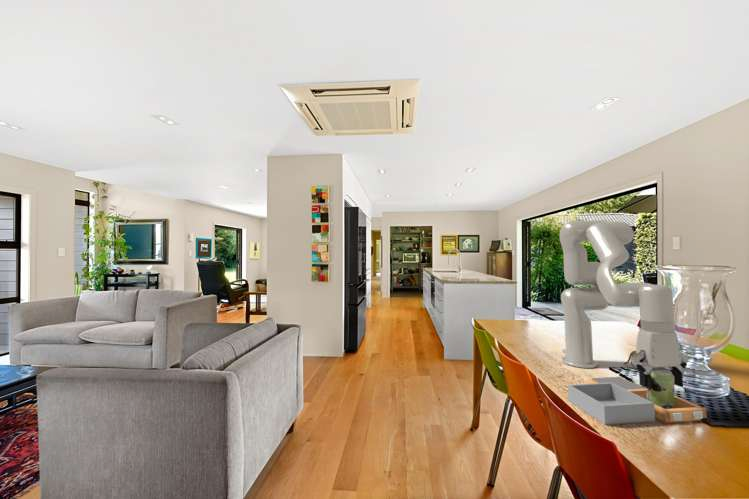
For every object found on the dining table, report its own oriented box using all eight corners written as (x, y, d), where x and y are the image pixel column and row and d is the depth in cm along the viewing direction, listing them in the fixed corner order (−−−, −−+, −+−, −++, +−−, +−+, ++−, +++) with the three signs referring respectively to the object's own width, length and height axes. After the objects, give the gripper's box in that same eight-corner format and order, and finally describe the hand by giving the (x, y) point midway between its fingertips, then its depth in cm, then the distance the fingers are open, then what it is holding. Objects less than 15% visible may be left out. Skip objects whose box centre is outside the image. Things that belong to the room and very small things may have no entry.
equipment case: (588, 382, 113) (588, 373, 113) (619, 380, 114) (619, 372, 114) (668, 423, 84) (667, 412, 85) (709, 421, 85) (708, 409, 85)
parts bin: (568, 401, 99) (567, 384, 99) (611, 398, 100) (610, 382, 100) (605, 425, 85) (604, 406, 85) (655, 421, 86) (654, 403, 86)
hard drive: (636, 382, 109) (684, 389, 103) (630, 374, 116) (675, 380, 110) (636, 387, 109) (684, 394, 103) (631, 379, 116) (676, 385, 110)
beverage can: (667, 404, 95) (665, 364, 95) (682, 416, 88) (679, 373, 88) (642, 402, 97) (640, 362, 97) (654, 413, 90) (652, 371, 90)
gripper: (671, 323, 97) (675, 379, 97) (619, 325, 96) (622, 382, 95) (698, 328, 90) (702, 389, 89) (641, 330, 89) (645, 392, 88)
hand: (661, 385), depth 92 cm, fingers open, 9 cm apart
